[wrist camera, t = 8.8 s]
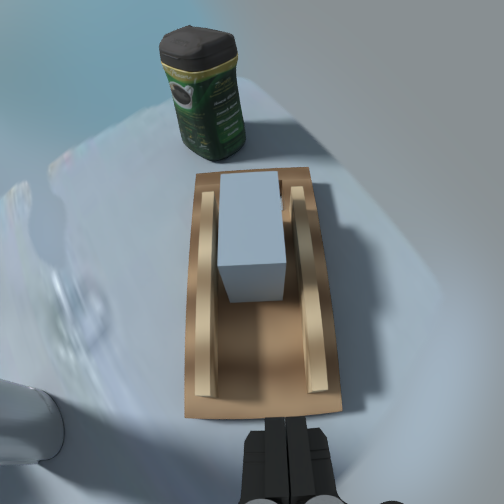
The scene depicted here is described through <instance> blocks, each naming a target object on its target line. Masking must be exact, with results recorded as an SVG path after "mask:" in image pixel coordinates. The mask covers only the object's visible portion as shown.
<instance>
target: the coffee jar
mask: <svg viewBox="0 0 504 504" xmlns="http://www.w3.org/2000/svg"><path fill="white" fill-rule="evenodd" d="M159 50H160V58H161V63H162V66H163V68H164V70H165V73H166V75H167V78H168V81H169V84H170V88H171V91H172V96H173V101H174V105H175V110H176V114H177V119H178V124H179V128H180V133H181V137H182V140H183V143H184V144H185V145H186V146H187V147H188V148H189V149H190V150H192V151H193V152H195V153H196V154H198V155H199V156H201V157H203V158H205V159H208V160H212V161H214V160H220V159H223V158H226V157H228V156H230V155H232V154H234V153H235V152H236V151H237V150H239V149H240V148H241V147H242V146H243V144H244V143H245V140H246V135H245V127H244V121H243V116H242V110H241V105H240V99H239V92H238V86H237V78H236V65H237V61H238V53H237V47H236V44H235V39H234V36H233V35H232V34H230V33H226V32H222V31H218V30H213V29H208V28H201V27H192V26H190V25H188V26H185V27H182V28H180V29H177V30H175V31H172V32H170V33H168V34H166V35H164V37H163V39H162V40H161V42H160V45H159Z"/></svg>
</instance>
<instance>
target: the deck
mask: <svg viewBox="0 0 504 504" xmlns="http://www.w3.org/2000/svg"><path fill="white" fill-rule="evenodd" d="M265 171H277V172H278V182H279V191H280V196H282V203H283V210H281V211H282V221H283V231H284V242H285V253H286V271H285V282H284V291H283V300H280V301H260V302H237V303H230V301H229V298H228V295H227V292H226V289H225V287H224V284H223V281H222V278H221V275H220V272H219V269H218V266H217V264H218V229H219V201H220V178H221V174H231V173H246V172H265ZM339 411H342V399H341V386H340V375H339V364H338V354H337V344H336V335H335V327H334V318H333V310H332V303H331V295H330V288H329V281H328V274H327V267H326V261H325V254H324V248H323V242H322V236H321V230H320V224H319V218H318V213H317V207H316V202H315V197H314V191H313V186H312V181H311V176H310V171H309V167H293V168H270V169H252V170H237V171H223V172H211V173H200V174H196V181H195V191H194V202H193V213H192V225H191V238H190V252H189V267H188V284H187V305H186V331H185V418H196V419H258V418H265V417H290V416H304V415H314V414H323V413H332V412H339Z"/></svg>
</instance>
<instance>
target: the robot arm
mask: <svg viewBox="0 0 504 504" xmlns="http://www.w3.org/2000/svg"><path fill="white" fill-rule="evenodd" d="M63 437H64V427H63V421H62V417H61V414H60V411H59V409H58V407H57V405H56V404H55V402H54V401H53V399H52V398H51V397H50V396H49V395H48V394H47V393H45V392H43V391H42V390H39V389H36V388H32V387H28V386H24V385H20V384H17V383H13V382H10V381H6V380H3V379H0V466H5V465H31V464H38V462H39V461H40V460H47V459H50V458H53V457H54V456H55V455H56V454H57V453H58V452H59V450H60V449H61V446H62V443H63ZM238 504H347V503H345V502H344V501H342V500H341V499H340V497H339V496H338V494H337V491H336V485H335V479H334V474H333V468H332V463H331V459H330V452H329V447H328V441H327V437H326V436H325V434H324V433H323V432H322V431H321V429H320V428H310V429H307V425H306V418H305V416H290V417H285V421H284V417H265V431H250V433H249V435H248V436H247V438H246V440H245V442H244V458H243V474H242V490H241V499H240V502H239V503H238ZM381 504H403V503H401V502H397V501H387V502H383V503H381Z"/></svg>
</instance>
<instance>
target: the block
mask: <svg viewBox="0 0 504 504" xmlns="http://www.w3.org/2000/svg"><path fill="white" fill-rule="evenodd" d="M217 266H218V269H219V272H220V275H221V278H222V281H223V284H224V287H225V289H226V292H227V295H228V298H229V301H230V303H237V302H260V301H280V300H283V291H284V282H285V271H286V253H285V242H284V231H283V221H282V211H281V201H280V191H279V182H278V172H277V171H265V172H246V173H231V174H221V178H220V201H219V229H218V264H217Z"/></svg>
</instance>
